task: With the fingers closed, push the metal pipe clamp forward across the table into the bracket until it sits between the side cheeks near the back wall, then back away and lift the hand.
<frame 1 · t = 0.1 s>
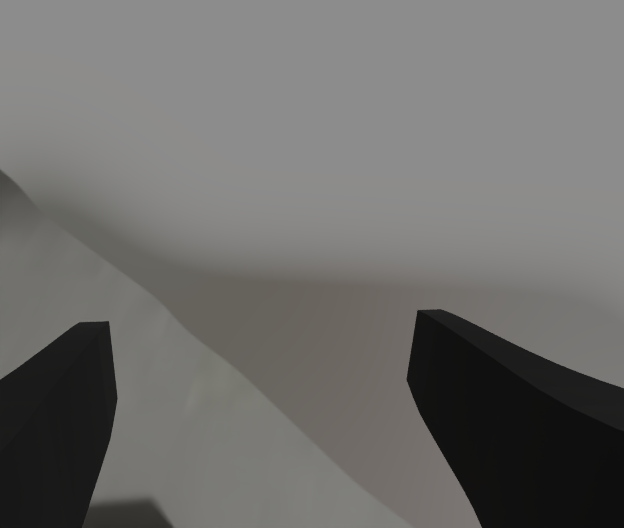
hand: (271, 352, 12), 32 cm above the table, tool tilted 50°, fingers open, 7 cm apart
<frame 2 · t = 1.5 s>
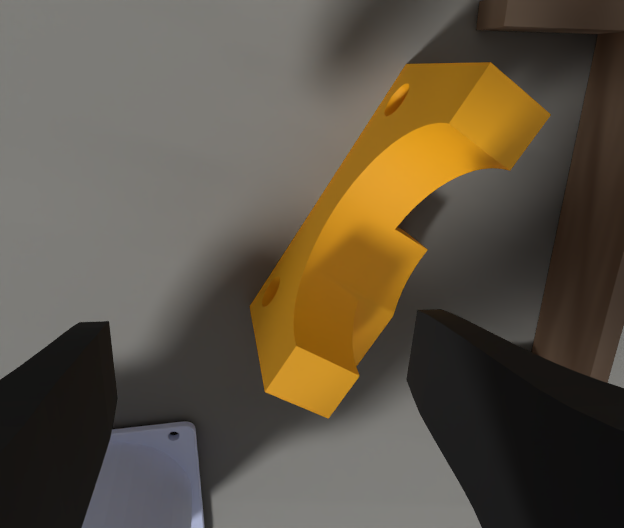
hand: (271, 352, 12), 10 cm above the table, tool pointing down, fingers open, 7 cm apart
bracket: (511, 222, 23), on the table
pipe clamp: (361, 215, 22), on the table
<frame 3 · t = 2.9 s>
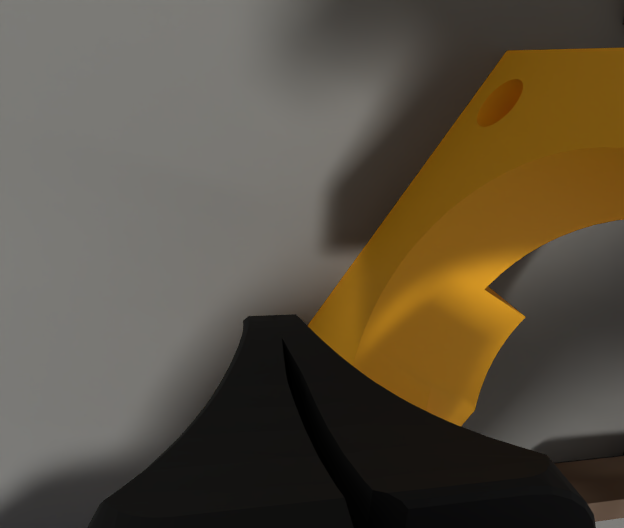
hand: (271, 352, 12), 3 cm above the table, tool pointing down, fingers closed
pipe clamp: (424, 260, 16), on the table, touching gripper
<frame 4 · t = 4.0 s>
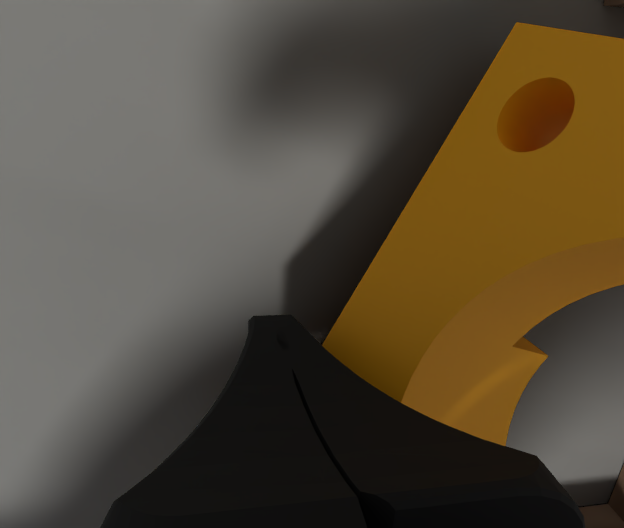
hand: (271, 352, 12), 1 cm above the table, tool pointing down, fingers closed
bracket: (613, 314, 15), on the table
pipe clamp: (414, 295, 12), point 1 cm above the table, touching gripper
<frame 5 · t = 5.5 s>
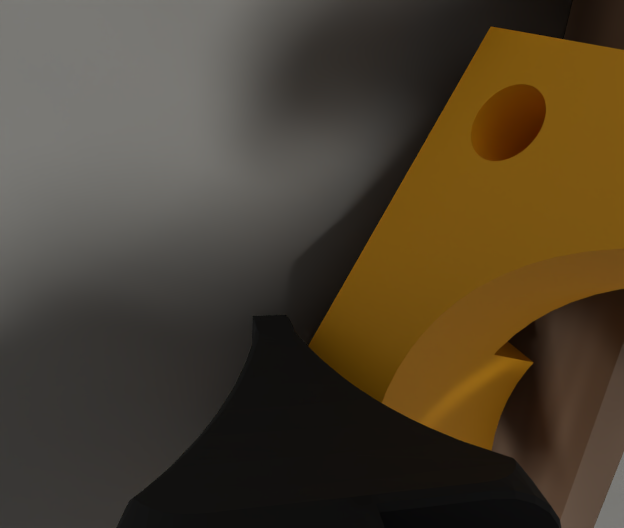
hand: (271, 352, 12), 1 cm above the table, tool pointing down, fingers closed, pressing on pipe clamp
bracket: (414, 317, 13), on the table
pipe clamp: (398, 302, 12), on the table, touching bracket, gripper
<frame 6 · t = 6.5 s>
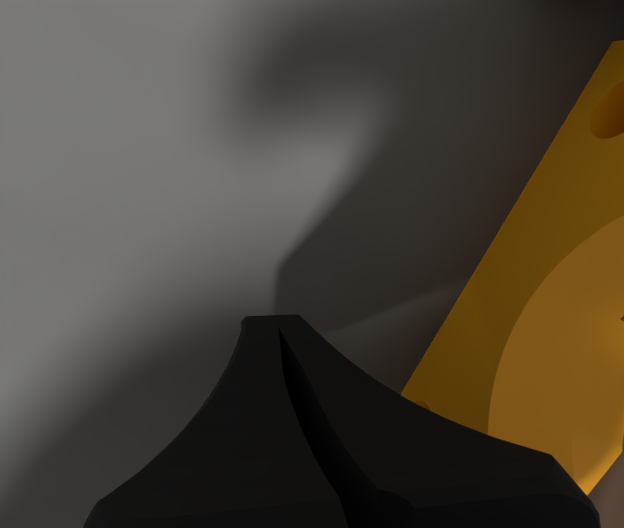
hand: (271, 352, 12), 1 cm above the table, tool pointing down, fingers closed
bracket: (561, 312, 14), on the table
pipe clamp: (531, 284, 14), on the table
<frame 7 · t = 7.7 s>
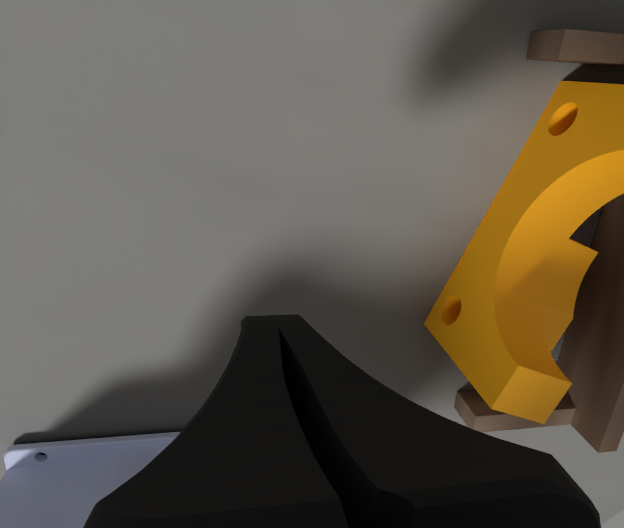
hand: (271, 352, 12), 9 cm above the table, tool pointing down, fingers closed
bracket: (545, 246, 23), on the table
pipe clamp: (519, 225, 23), on the table
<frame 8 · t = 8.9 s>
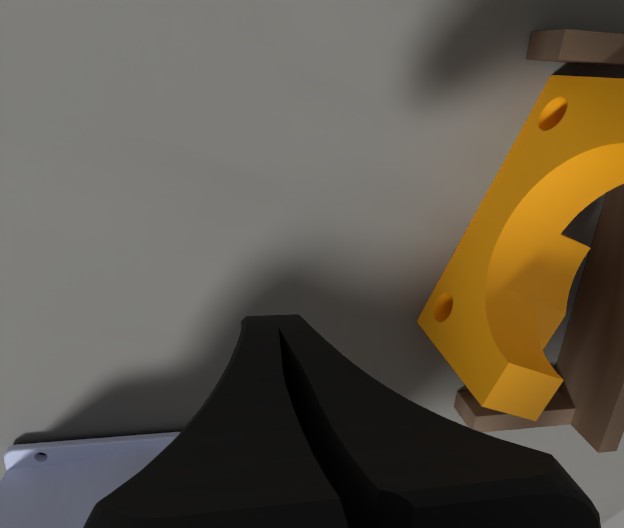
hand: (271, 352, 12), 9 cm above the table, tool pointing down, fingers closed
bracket: (545, 246, 23), on the table
pipe clamp: (512, 221, 23), on the table
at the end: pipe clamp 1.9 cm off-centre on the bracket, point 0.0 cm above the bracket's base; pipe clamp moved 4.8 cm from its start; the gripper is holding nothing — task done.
